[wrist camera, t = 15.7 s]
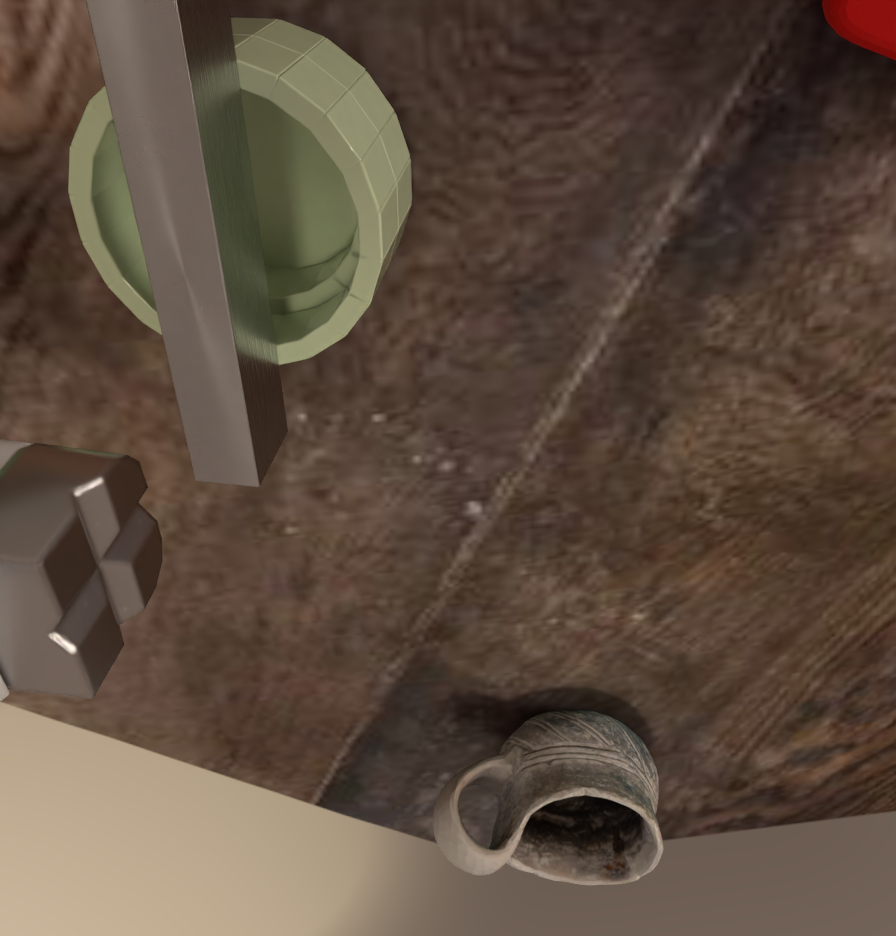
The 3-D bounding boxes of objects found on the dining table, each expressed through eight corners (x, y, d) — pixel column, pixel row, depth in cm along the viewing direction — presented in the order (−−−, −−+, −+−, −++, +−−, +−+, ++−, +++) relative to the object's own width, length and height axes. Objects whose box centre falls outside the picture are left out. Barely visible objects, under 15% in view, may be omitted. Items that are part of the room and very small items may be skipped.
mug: (628, 795, 55) (631, 960, 47) (437, 749, 55) (408, 906, 47) (681, 705, 49) (695, 878, 41) (467, 654, 49) (439, 817, 41)
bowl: (117, 9, 30) (27, 47, 26) (411, 18, 29) (373, 60, 24) (174, 285, 37) (111, 355, 32) (417, 302, 36) (388, 377, 31)
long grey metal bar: (139, -50, 24) (77, -32, 21) (222, -49, 23) (171, -29, 21) (228, 426, 33) (195, 481, 31) (288, 431, 33) (259, 487, 30)
